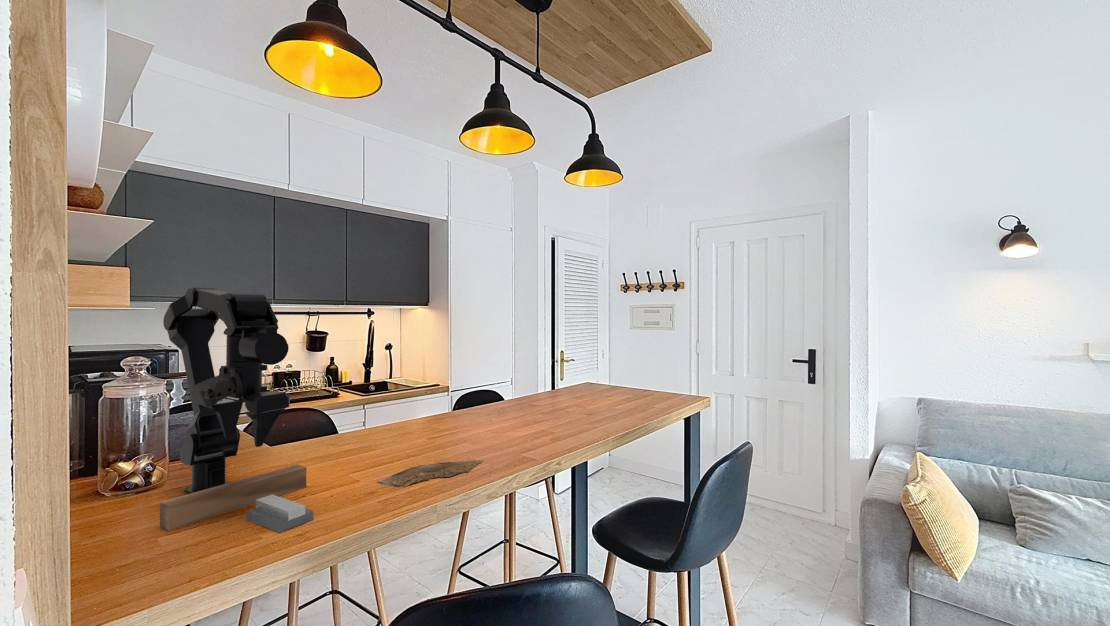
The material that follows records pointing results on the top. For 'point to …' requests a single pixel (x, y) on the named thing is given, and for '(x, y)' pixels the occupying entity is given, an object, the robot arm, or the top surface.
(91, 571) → the top surface
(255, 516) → the grey flat stepped block
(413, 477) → the wooden fragment
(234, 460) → the top surface
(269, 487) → the walnut bar
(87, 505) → the top surface
